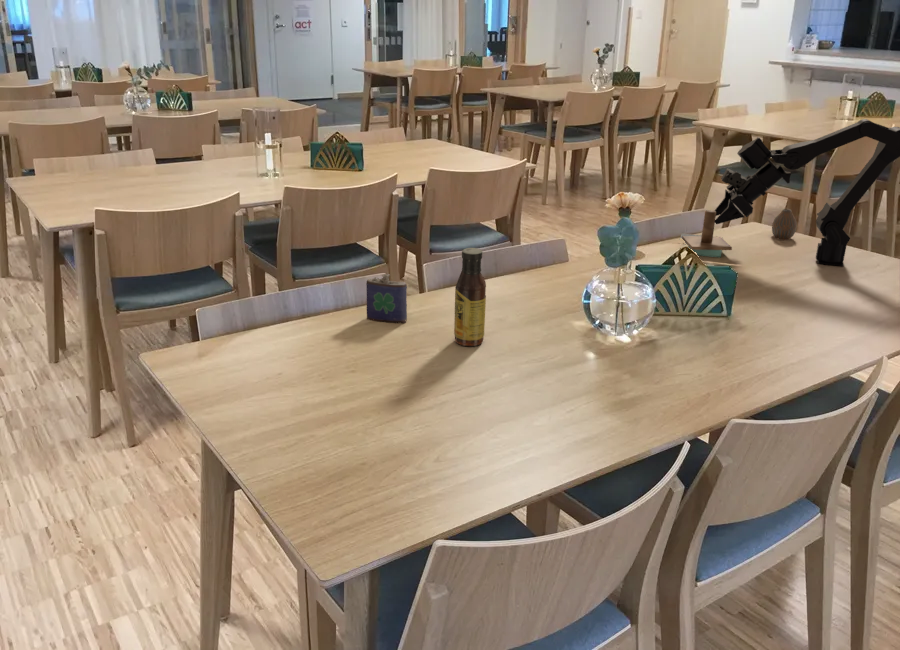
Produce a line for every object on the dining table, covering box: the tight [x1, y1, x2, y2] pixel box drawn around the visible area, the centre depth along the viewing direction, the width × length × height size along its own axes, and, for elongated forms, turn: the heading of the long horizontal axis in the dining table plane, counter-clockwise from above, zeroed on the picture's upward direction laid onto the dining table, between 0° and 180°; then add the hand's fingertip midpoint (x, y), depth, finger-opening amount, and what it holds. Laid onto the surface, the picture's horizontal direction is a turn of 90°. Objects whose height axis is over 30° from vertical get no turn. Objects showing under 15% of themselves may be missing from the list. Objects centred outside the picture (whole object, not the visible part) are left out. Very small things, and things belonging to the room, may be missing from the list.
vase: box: [771, 208, 798, 241], centre depth 244 cm, size 7×7×9 cm
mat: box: [679, 233, 724, 240], centre depth 240 cm, size 12×12×1 cm
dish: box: [687, 245, 723, 259], centre depth 229 cm, size 9×9×2 cm
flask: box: [365, 273, 408, 324], centre depth 176 cm, size 9×3×11 cm, turn 74°
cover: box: [682, 209, 733, 251], centre depth 227 cm, size 11×11×10 cm
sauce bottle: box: [453, 247, 487, 347], centre depth 163 cm, size 6×6×20 cm
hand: (714, 218), depth 226 cm, fingers open, 9 cm apart
